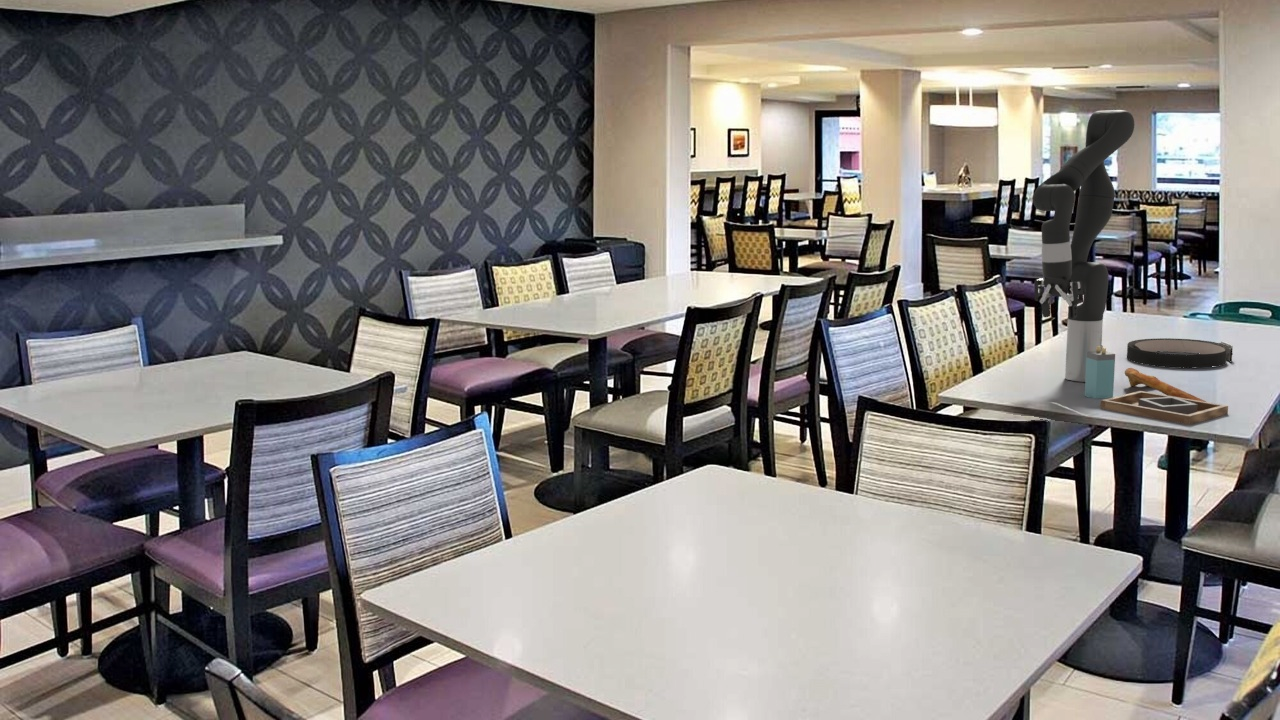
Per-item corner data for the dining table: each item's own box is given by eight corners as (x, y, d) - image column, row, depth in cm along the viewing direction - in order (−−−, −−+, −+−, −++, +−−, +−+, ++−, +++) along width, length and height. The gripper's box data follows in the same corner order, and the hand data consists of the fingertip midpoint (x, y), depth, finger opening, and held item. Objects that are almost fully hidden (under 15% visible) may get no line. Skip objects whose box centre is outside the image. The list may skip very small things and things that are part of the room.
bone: (1218, 413, 283) (1203, 379, 281) (1187, 429, 284) (1171, 394, 282) (1155, 382, 316) (1141, 351, 313) (1127, 396, 316) (1113, 365, 314)
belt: (1252, 368, 336) (1253, 351, 335) (1150, 370, 336) (1151, 353, 335) (1205, 351, 365) (1206, 335, 364) (1111, 353, 365) (1112, 337, 364)
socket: (1138, 408, 285) (1138, 398, 285) (1172, 406, 287) (1173, 396, 286) (1161, 416, 276) (1162, 406, 275) (1197, 414, 277) (1197, 404, 277)
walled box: (1139, 400, 296) (1140, 390, 296) (1227, 415, 278) (1228, 405, 277) (1100, 409, 287) (1101, 400, 286) (1188, 426, 268) (1189, 416, 268)
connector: (1084, 396, 302) (1087, 346, 300) (1102, 395, 303) (1104, 345, 301) (1095, 400, 297) (1097, 349, 295) (1112, 399, 298) (1115, 348, 296)
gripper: (1088, 257, 303) (1090, 317, 306) (1044, 255, 315) (1047, 313, 319) (1069, 262, 300) (1071, 322, 303) (1026, 260, 312) (1029, 318, 315)
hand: (1059, 317), depth 311 cm, fingers open, 8 cm apart
